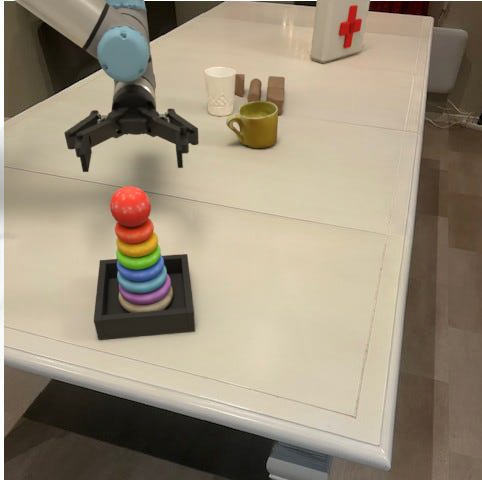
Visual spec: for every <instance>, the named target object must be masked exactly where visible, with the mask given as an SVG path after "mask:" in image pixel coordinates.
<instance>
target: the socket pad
mask: <svg viewBox="0 0 482 480" xmlns="http://www.w3.org/2000/svg"><path fill="white" fill-rule="evenodd" d="M162 257H163V260H164V266H165V267H166V270H167V274H168V276H169V277H170V280H171V287H172V289H173V298H172V300H171V302H170V304H169V305H168V306H167V307H166V308H165V309H164V310H159V311H147V312H135V313H130V312H128V311H126V310H125V309H124V308H123V307H122V306H121V304H120V302H119V292H120V291H119V282H118V278H117V274H118V269H117V261H118V260H117V258H109V259H100V260H99V264H98V274H97V275H98V276H97V285H96V294H95V305H94V313H93V325H94V328H95V332H96V336H97V339H98V341H103V340H116V339H126V338H127V339H128V338H137V337H147V336H158V335H159V336H160V335H170V334H181V333H192V332H196V324H195V323H196V322H195V310H194V301H193V293H192V284H191V276H190V275H191V274H190V265H189V258H188V253H182V254H168V255H162Z"/></svg>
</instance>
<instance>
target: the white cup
mask: <svg viewBox="0 0 482 480" xmlns="http://www.w3.org/2000/svg"><path fill="white" fill-rule="evenodd" d="M236 74H237V71H236V70H235V69H234V68H232V67H231V68H230V67H227V66H214V67H209V68H207V69H205V70H204V80H205V81H204V82H205V95H206V96H205V97H206V102H207V103H206V104H207V112H208V114H210V115H212V116H217V117H226V116H230V115H232V114H233V113H234V102H235V96H236V95H235V78H236Z"/></svg>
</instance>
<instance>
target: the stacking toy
mask: <svg viewBox="0 0 482 480" xmlns="http://www.w3.org/2000/svg"><path fill="white" fill-rule="evenodd" d="M109 209H110V214H111V215H112V218H113V219H114V220H115V221H116V224H115V226H114V233H115V235H116V237H117V238H116V241H115V242H116V247H117V248H116V251H115V255H116V259H117V260H118V261H117V269H118V274H117V278H118V282H119V291H120V292H119V302H120V304H121V306H122V307H123V308H124V309H125V310H126V311H128V312H130V313H135V312H147V311H159V310H164V309H165V308H166V307H167V306H168V305H169V304H170V302H171V300H172V298H173V289H172V287H171V280H170V277H169V276H168V274H167V270H166V267H165V266H164V260H163V257H162V256H163V255H162V253H161V252H162V250H161V247H160V245H159V237H158V235H157V233H156V232H155V231H154V230H155V226H154V223H153V221H152V219H151V218H150V215H151V211H152V204H151V200H150V198H149V196H148V195H147V194H146V192H144V190H142V189H140V188H138V187H137V186H132V185H131V186H128V185H127V186H123V187H121V188H119V189H117V190H116V191H115V192H114V193H113V194H112V196H111V198H110V201H109Z"/></svg>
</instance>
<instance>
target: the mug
mask: <svg viewBox="0 0 482 480" xmlns="http://www.w3.org/2000/svg"><path fill="white" fill-rule="evenodd" d="M234 123H236V124H237V125H238V127H239V130H238V129H237V128H236V127H235V126H234ZM225 124H226V126H227V127H228V129H230V130H231V131H232V132H233V133H234V134H235V135H236V137H237V139H238V141H239V142H240V143H241V145H244V146H248V147H250V148H253V149H268V148H271V147H273V146H274V145H275V144H276V142H277V140H278V127H279V126H278V124H279V114H278V108H277V106H276V105H275V104H274V103H271V102H267V100H259V101H255V102H247V103H244V104H242V105H241V106H239V108H238V110H237V114H230V115H228V117H227V119H226V122H225Z"/></svg>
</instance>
